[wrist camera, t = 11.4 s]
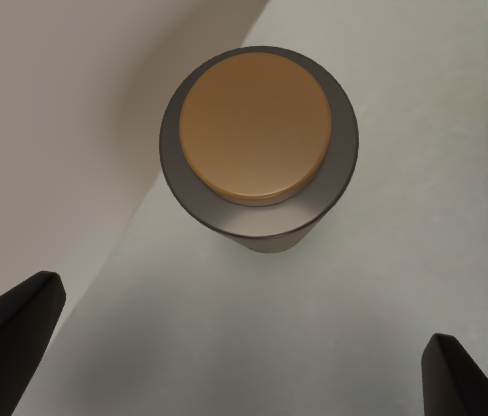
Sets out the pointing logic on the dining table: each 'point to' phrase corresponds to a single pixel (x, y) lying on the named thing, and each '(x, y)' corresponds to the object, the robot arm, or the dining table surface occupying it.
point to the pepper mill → (259, 145)
